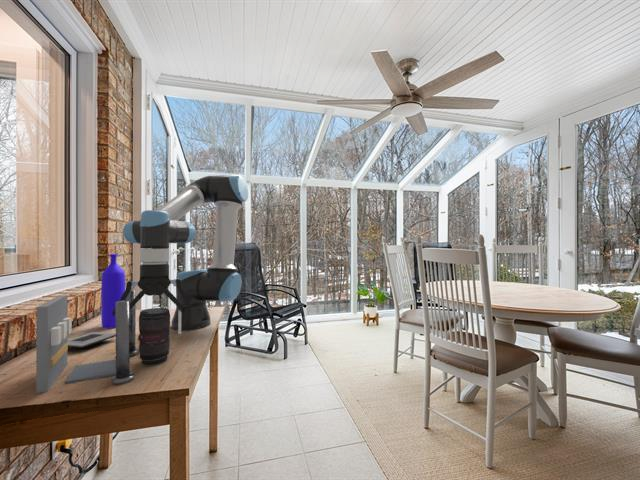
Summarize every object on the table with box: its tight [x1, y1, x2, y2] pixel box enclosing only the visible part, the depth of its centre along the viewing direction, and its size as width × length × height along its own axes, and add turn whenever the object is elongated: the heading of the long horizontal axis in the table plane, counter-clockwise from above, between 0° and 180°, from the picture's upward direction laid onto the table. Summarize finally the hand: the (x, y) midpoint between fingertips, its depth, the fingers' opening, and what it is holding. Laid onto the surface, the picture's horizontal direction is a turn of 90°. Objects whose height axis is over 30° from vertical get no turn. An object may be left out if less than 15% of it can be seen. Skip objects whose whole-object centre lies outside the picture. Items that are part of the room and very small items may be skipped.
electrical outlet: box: [67, 331, 116, 350], centre depth 103 cm, size 13×10×2 cm
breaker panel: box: [35, 294, 73, 394], centre depth 78 cm, size 3×17×20 cm, turn 28°
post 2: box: [124, 288, 140, 358], centre depth 94 cm, size 5×5×20 cm
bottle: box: [100, 253, 126, 329], centre depth 127 cm, size 8×8×30 cm
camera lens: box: [137, 307, 171, 367], centre depth 89 cm, size 8×8×15 cm
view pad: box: [64, 359, 116, 385], centre depth 82 cm, size 11×11×1 cm
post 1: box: [110, 300, 135, 386], centre depth 77 cm, size 5×5×20 cm
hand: (154, 335), depth 89 cm, fingers open, 13 cm apart
